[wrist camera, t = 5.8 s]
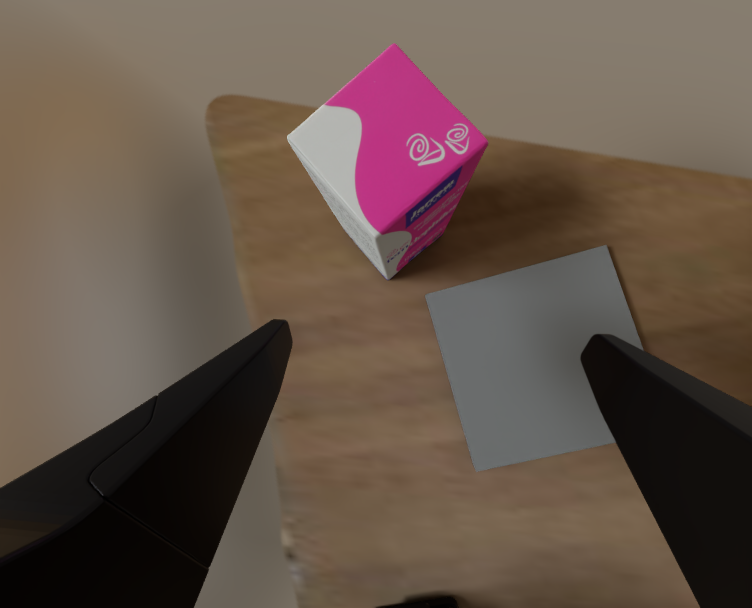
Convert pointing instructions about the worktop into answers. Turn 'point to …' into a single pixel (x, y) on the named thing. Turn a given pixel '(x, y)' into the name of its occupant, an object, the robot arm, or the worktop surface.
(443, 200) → the supplement box
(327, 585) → the worktop surface
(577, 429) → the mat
